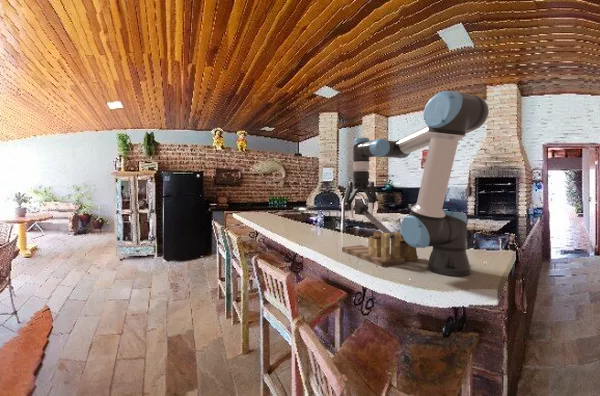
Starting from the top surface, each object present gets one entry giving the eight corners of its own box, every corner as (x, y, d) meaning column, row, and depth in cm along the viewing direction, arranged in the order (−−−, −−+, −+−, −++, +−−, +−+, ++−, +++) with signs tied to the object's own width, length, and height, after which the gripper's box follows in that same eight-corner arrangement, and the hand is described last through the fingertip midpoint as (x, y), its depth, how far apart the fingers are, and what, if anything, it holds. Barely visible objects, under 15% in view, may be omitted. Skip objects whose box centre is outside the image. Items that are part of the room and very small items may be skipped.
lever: (394, 240, 126) (397, 232, 125) (386, 241, 125) (389, 233, 123) (360, 209, 148) (362, 202, 146) (353, 209, 146) (355, 202, 144)
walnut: (384, 240, 132) (384, 231, 132) (377, 240, 130) (377, 231, 130) (378, 238, 136) (378, 229, 135) (371, 239, 134) (371, 230, 134)
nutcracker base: (404, 263, 127) (405, 232, 126) (381, 266, 122) (382, 234, 121) (361, 248, 154) (362, 223, 153) (341, 251, 149) (342, 225, 148)
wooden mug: (427, 258, 135) (427, 218, 135) (411, 263, 127) (411, 220, 126) (409, 254, 142) (409, 216, 141) (392, 259, 134) (393, 219, 133)
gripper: (375, 171, 151) (375, 214, 152) (336, 170, 142) (335, 217, 143) (385, 170, 144) (385, 216, 146) (344, 170, 135) (344, 218, 136)
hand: (360, 216), depth 144 cm, fingers open, 11 cm apart
